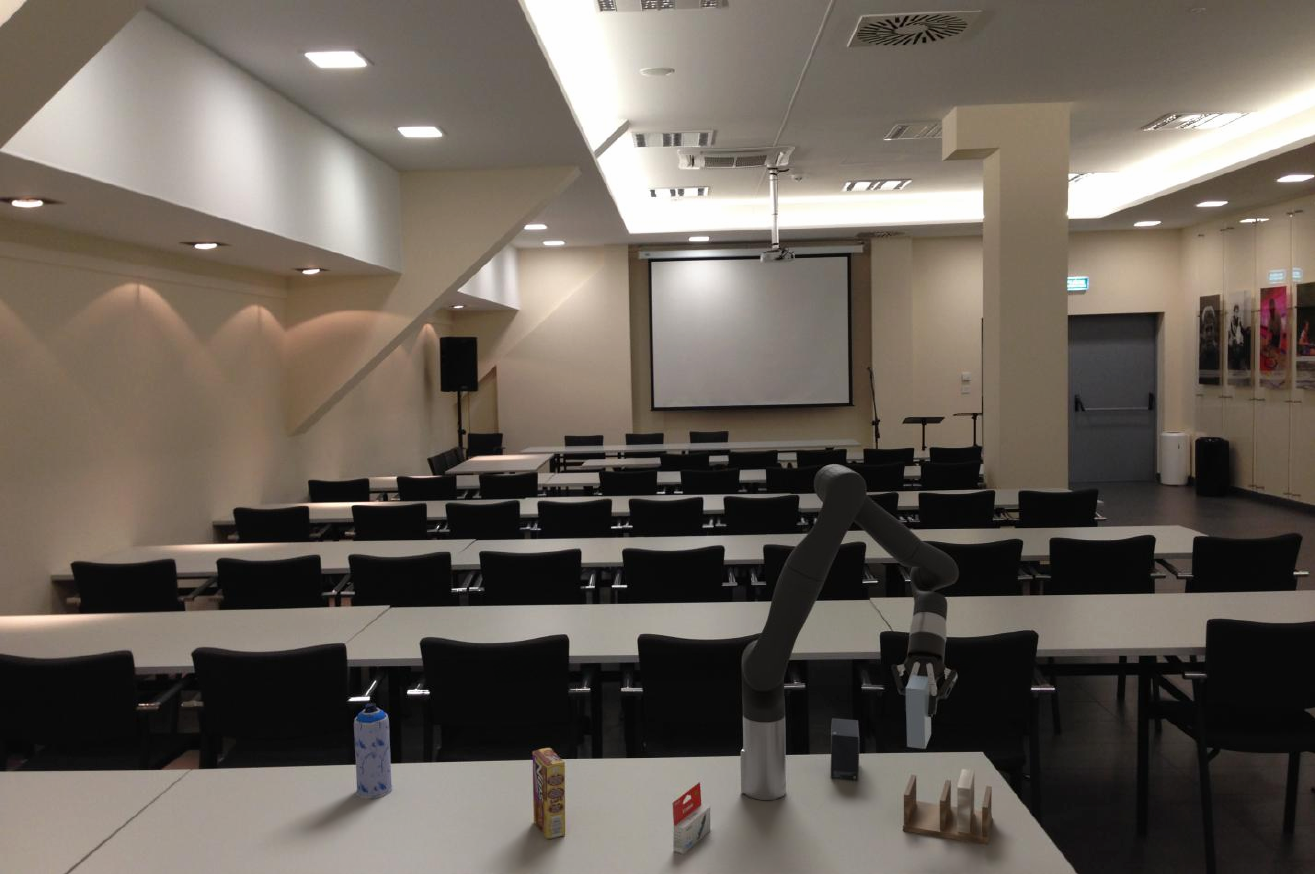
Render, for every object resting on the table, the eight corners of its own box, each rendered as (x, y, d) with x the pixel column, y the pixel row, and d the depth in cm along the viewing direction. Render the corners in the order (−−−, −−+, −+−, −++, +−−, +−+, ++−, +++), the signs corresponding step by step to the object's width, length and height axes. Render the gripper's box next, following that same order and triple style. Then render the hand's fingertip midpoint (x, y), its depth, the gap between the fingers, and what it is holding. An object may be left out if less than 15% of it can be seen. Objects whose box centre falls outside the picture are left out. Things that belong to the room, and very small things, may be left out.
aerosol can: (400, 788, 216) (396, 702, 214) (372, 801, 209) (368, 713, 208) (376, 780, 220) (372, 696, 219) (348, 794, 213) (344, 706, 212)
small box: (859, 781, 214) (859, 736, 213) (830, 779, 215) (829, 734, 215) (859, 762, 225) (859, 719, 224) (831, 760, 226) (830, 717, 225)
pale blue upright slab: (907, 746, 190) (905, 688, 189) (913, 731, 197) (912, 675, 196) (925, 749, 188) (923, 689, 187) (931, 733, 196) (929, 676, 195)
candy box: (567, 835, 192) (565, 762, 191) (547, 840, 190) (545, 766, 189) (552, 817, 200) (550, 746, 199) (533, 822, 198) (530, 750, 197)
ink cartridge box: (711, 830, 193) (710, 784, 192) (683, 855, 184) (682, 806, 183) (700, 827, 194) (699, 781, 194) (672, 851, 185) (671, 803, 184)
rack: (902, 830, 191) (902, 782, 191) (912, 804, 202) (912, 759, 201) (986, 844, 185) (987, 795, 184) (991, 817, 196) (992, 770, 195)
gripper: (891, 627, 204) (881, 702, 193) (960, 632, 198) (954, 710, 188) (896, 644, 209) (887, 718, 199) (963, 650, 203) (957, 726, 193)
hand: (919, 714), depth 193 cm, fingers closed on pale blue upright slab, 3 cm apart
